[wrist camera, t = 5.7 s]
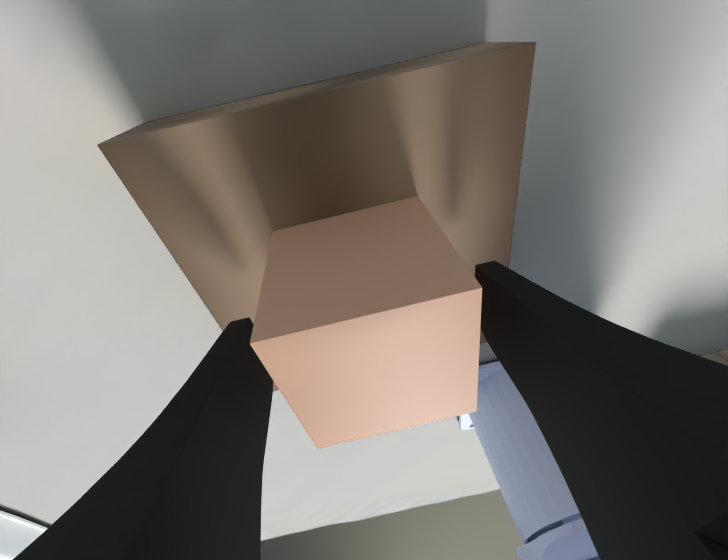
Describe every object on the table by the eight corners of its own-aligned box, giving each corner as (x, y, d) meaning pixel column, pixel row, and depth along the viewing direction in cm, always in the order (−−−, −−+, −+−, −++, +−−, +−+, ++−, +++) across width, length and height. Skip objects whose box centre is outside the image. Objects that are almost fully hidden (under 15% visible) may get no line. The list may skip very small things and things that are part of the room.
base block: (485, 42, 11) (535, 42, 8) (474, 300, 18) (499, 339, 16) (144, 122, 11) (97, 144, 8) (270, 347, 18) (264, 393, 16)
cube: (417, 195, 11) (482, 288, 7) (428, 304, 14) (476, 411, 10) (272, 231, 11) (249, 343, 7) (315, 331, 14) (317, 448, 10)
